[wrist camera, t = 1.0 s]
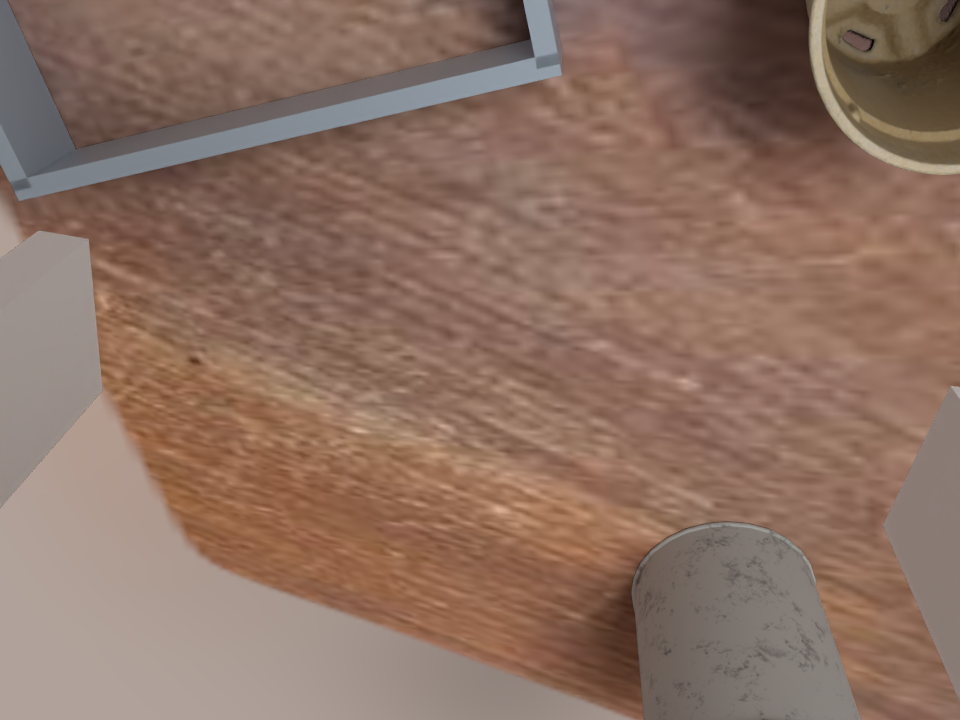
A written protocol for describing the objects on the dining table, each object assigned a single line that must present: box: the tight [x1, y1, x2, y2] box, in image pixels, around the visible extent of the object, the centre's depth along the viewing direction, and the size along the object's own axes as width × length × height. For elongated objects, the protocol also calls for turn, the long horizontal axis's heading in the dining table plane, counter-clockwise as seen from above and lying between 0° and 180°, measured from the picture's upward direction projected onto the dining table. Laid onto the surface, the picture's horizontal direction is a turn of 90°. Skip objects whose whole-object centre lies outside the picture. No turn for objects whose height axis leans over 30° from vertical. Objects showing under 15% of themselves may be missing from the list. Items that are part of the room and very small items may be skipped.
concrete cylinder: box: [631, 522, 861, 720], centre depth 42 cm, size 10×10×12 cm
